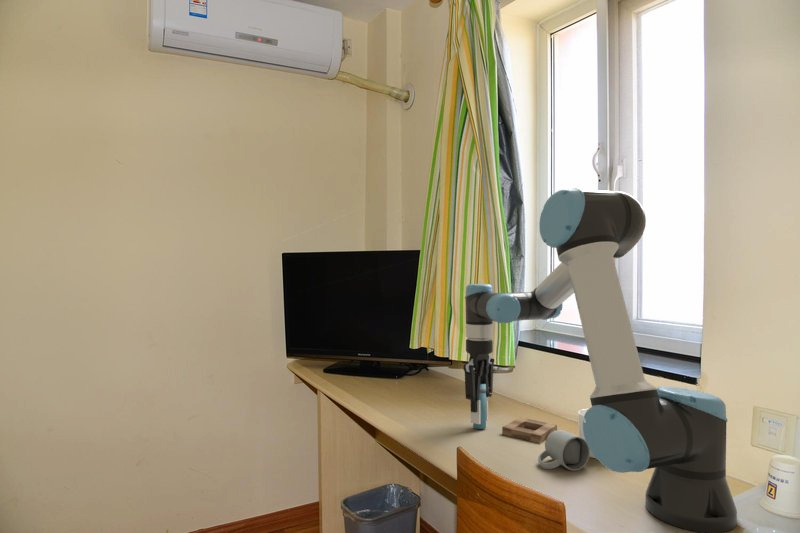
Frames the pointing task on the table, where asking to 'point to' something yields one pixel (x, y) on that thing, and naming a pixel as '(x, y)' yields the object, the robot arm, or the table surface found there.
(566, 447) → the ceramic mug
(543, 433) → the square hole plate
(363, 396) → the table surface
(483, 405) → the banded teal cylinder
